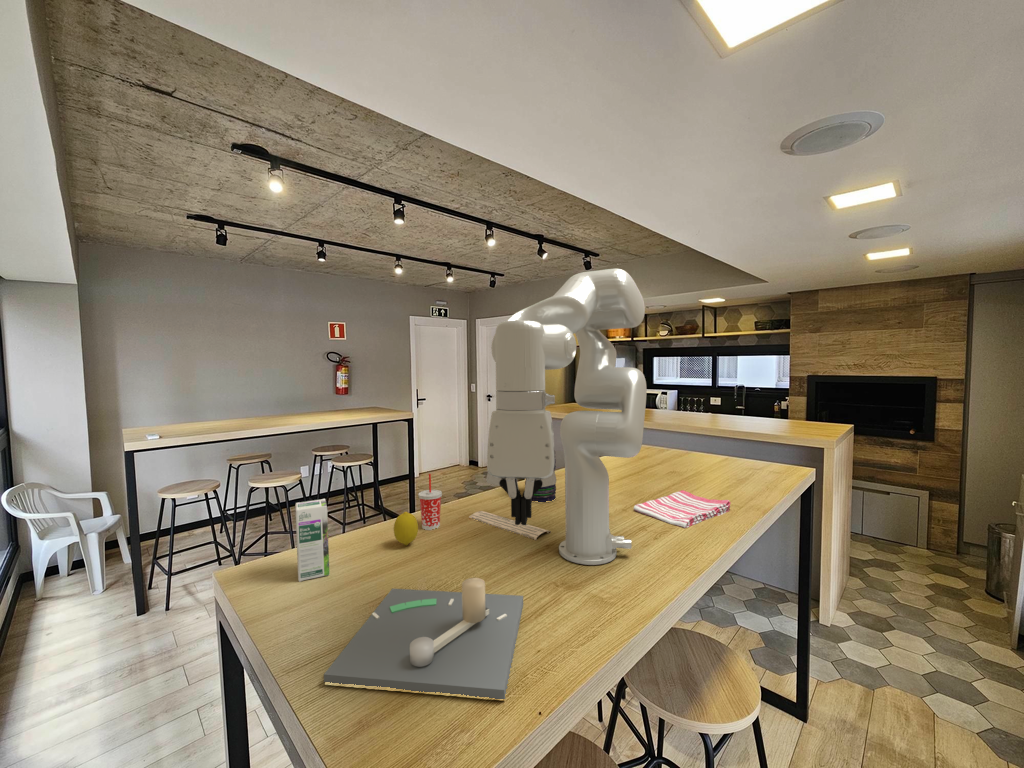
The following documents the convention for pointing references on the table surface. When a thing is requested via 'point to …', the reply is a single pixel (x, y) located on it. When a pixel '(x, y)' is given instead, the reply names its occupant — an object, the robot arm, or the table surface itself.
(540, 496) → the storage jar
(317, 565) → the syrup box
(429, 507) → the beverage cup
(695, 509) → the dish towel
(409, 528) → the lemon
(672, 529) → the table surface
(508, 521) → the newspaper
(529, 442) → the robot arm
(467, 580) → the tuning lever
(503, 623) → the dial board
